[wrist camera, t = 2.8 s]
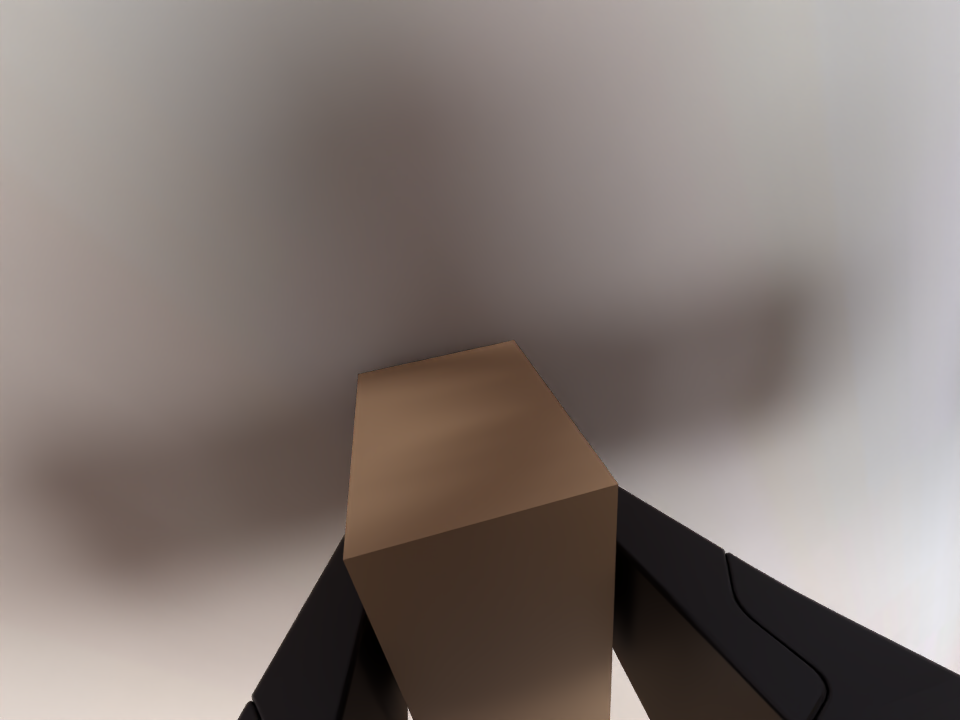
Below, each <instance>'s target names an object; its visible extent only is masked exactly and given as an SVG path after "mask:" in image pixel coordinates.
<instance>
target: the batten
mask: <svg viewBox="0 0 960 720" xmlns="http://www.w3.org/2000/svg"><path fill="white" fill-rule="evenodd" d="M617 503H618V483H617V482H616V480H615V479H614V478H613V476H612V475H611V473H610V472H609V471H608V469H607V468H606V467H605V465H604V464H603V462H602V461H601V460H600V458H599V457H598V456H597V454H596V453H595V451H594V450H593V449H592V447H591V446H590V444H589V443H588V442H587V440H586V439H585V438H584V436H583V435H582V433H581V432H580V431H579V429H578V428H577V427H576V425H575V424H574V422H573V421H572V420H571V418H570V417H569V415H568V414H567V413H566V411H565V410H564V409H563V407H562V406H561V404H560V403H559V402H558V400H557V399H556V398H555V396H554V395H553V393H552V392H551V391H550V389H549V388H548V386H547V385H546V384H545V382H544V381H543V380H542V378H541V377H540V375H539V374H538V373H537V371H536V370H535V369H534V367H533V366H532V364H531V363H530V362H529V360H528V359H527V357H526V356H525V355H524V353H523V352H522V351H521V349H520V348H519V346H518V345H517V344H516V342H515V341H514V340H512V341H508V342H503V343H498V344H494V345H489V346H485V347H480V348H476V349H471V350H466V351H462V352H457V353H453V354H448V355H444V356H439V357H434V358H430V359H425V360H421V361H416V362H411V363H407V364H402V365H398V366H393V367H389V368H384V369H379V370H375V371H370V372H366V373H361V374H358V383H357V395H356V407H355V419H354V432H353V444H352V456H351V468H350V480H349V492H348V504H347V517H346V529H345V541H344V553H343V561H344V563H345V566H346V568H347V570H348V572H349V575H350V577H351V579H352V582H353V584H354V586H355V588H356V591H357V593H358V595H359V598H360V600H361V602H362V604H363V607H364V609H365V611H366V613H367V616H368V618H369V620H370V623H371V625H372V627H373V629H374V632H375V634H376V636H377V638H378V641H379V643H380V645H381V648H382V650H383V652H384V654H385V657H386V659H387V661H388V663H389V666H390V668H391V670H392V673H393V675H394V677H395V679H396V682H397V684H398V686H399V688H400V691H401V693H402V695H403V698H404V700H405V702H406V704H407V707H408V709H409V711H410V714H411V716H412V718H413V720H610V702H611V674H612V645H613V617H614V589H615V560H616V532H617Z"/></svg>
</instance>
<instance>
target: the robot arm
mask: <svg viewBox="0 0 960 720" xmlns="http://www.w3.org/2000/svg"><path fill="white" fill-rule="evenodd" d="M344 541H345V535H344V536H343V538H342V540H341V542H340V543H339V545H338V547H337V549H336V550H335V552H334V554H333V555H332V557H331V559H330V561H329V562H328V564H327V566H326V568H325V569H324V571H323V573H322V575H321V576H320V578H319V580H318V581H317V583H316V585H315V587H314V588H313V590H312V592H311V594H310V595H309V597H308V599H307V601H306V602H305V604H304V606H303V607H302V609H301V611H300V613H299V614H298V616H297V618H296V620H295V621H294V623H293V625H292V627H291V628H290V630H289V632H288V633H287V635H286V637H285V639H284V640H283V642H282V644H281V646H280V647H279V649H278V651H277V653H276V654H275V656H274V658H273V659H272V661H271V663H270V665H269V666H268V668H267V670H266V672H265V673H264V675H263V677H262V678H261V680H260V682H259V684H258V685H257V687H256V689H255V691H254V692H253V694H252V700H253V701H249V702H248V703H247V704H246V706H245V708H244V709H243V711H242V713H241V714H240V716H239V718H238V720H408V707H407V704H406V702H405V700H404V698H403V695H402V693H401V691H400V688H399V686H398V684H397V682H396V679H395V677H394V675H393V673H392V670H391V668H390V666H389V663H388V661H387V659H386V657H385V654H384V652H383V650H382V648H381V645H380V643H379V641H378V638H377V636H376V634H375V632H374V629H373V627H372V625H371V623H370V620H369V618H368V616H367V613H366V611H365V609H364V607H363V604H362V602H361V600H360V598H359V595H358V593H357V591H356V588H355V586H354V584H353V582H352V579H351V577H350V575H349V572H348V570H347V568H346V566H345V563H344V561H343V553H344ZM612 647H613V649H614V651H615V653H616V655H617V657H618V659H619V661H620V663H621V665H622V667H623V669H624V671H625V672H626V674H627V676H628V678H629V680H630V682H631V684H632V686H633V688H634V690H635V692H636V694H637V696H638V698H639V699H640V701H641V703H642V705H643V707H644V709H645V711H646V713H647V715H648V717H649V719H650V720H960V675H959V674H957V673H955V672H953V671H951V670H949V669H947V668H945V667H943V666H941V665H939V664H937V663H935V662H933V661H931V660H929V659H927V658H925V657H923V656H921V655H919V654H917V653H915V652H913V651H911V650H909V649H908V648H906V647H904V646H902V645H900V644H898V643H896V642H894V641H892V640H890V639H888V638H886V637H884V636H882V635H880V634H878V633H876V632H874V631H872V630H870V629H868V628H866V627H864V626H862V625H860V624H858V623H856V622H854V621H852V620H850V619H848V618H846V617H844V616H842V615H840V614H838V613H836V612H835V611H833V610H831V609H829V608H827V607H825V606H823V605H821V604H819V603H818V602H816V601H814V600H812V599H810V598H808V597H806V596H804V595H802V594H800V593H799V592H797V591H795V590H793V589H791V588H789V587H788V586H786V585H784V584H782V583H781V582H779V581H777V580H775V579H774V578H772V577H770V576H768V575H767V574H765V573H763V572H761V571H760V570H758V569H756V568H754V567H753V566H751V565H749V564H748V563H746V562H744V561H743V560H741V559H739V558H738V557H736V556H734V555H733V554H731V553H726V554H725V551H724V549H722V548H721V547H719V546H717V545H716V544H714V543H712V542H711V541H709V540H707V539H706V538H704V537H702V536H701V535H699V534H697V533H696V532H694V531H692V530H691V529H689V528H687V527H686V526H684V525H682V524H681V523H679V522H677V521H676V520H674V519H672V518H671V517H669V516H667V515H666V514H664V513H662V512H661V511H659V510H657V509H656V508H654V507H652V506H651V505H649V504H647V503H646V502H644V501H642V500H641V499H639V498H637V497H636V496H634V495H632V494H631V493H629V492H627V491H626V490H624V489H622V488H621V487H619V486H618V503H617V532H616V560H615V589H614V617H613V645H612Z"/></svg>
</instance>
